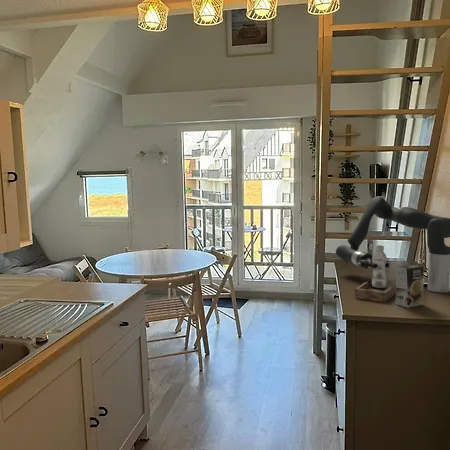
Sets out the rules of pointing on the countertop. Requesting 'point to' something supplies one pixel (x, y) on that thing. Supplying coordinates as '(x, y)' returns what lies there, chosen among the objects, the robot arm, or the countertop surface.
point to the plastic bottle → (379, 268)
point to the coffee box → (409, 285)
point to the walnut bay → (374, 293)
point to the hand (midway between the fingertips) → (382, 265)
